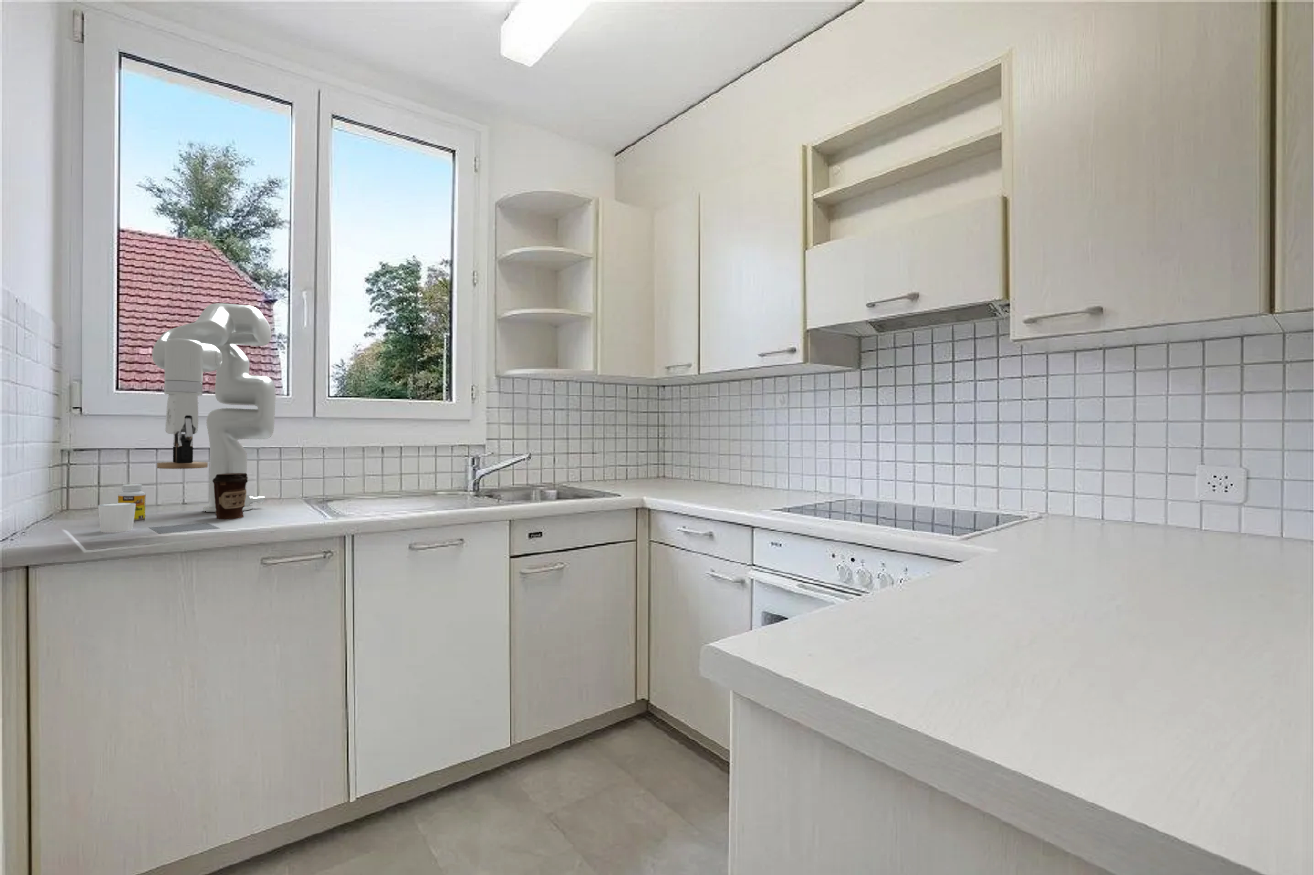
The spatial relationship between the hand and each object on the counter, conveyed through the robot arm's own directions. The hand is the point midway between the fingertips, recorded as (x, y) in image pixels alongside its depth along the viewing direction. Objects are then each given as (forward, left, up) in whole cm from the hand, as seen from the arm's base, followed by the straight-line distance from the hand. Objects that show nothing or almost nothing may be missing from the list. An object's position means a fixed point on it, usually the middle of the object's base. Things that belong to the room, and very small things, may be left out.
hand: (182, 462), depth 153 cm
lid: (0, 0, -1) cm, 1 cm away
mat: (0, 0, -17) cm, 17 cm away
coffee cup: (-13, -13, -17) cm, 25 cm away
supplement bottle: (+7, -22, -17) cm, 29 cm away
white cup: (+12, -5, -17) cm, 21 cm away
